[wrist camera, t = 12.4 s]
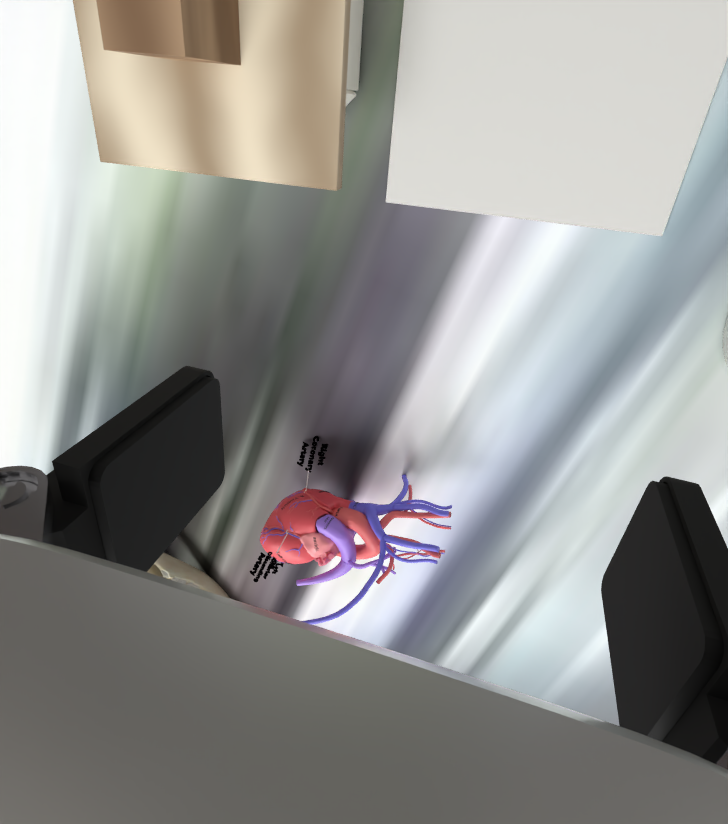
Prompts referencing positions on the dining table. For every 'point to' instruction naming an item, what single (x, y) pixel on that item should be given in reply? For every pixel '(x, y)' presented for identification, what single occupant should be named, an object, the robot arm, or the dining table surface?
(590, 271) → the dining table surface
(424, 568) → the dining table surface
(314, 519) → the heart model
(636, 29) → the grey mat
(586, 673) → the dining table surface
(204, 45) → the birch lid
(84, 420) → the dining table surface
